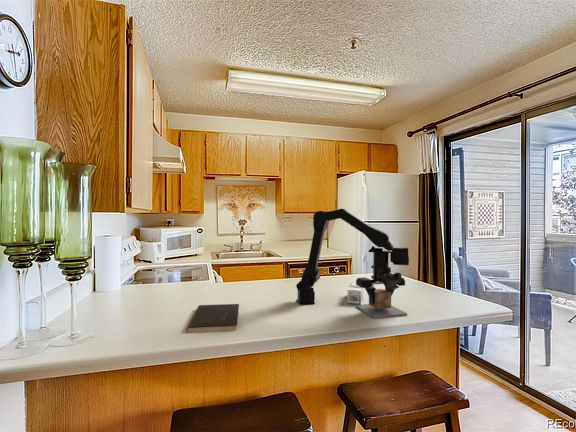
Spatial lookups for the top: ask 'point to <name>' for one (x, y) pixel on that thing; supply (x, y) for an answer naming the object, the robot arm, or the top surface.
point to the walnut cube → (381, 299)
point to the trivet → (381, 311)
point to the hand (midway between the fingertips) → (380, 303)
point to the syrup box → (355, 294)
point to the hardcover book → (214, 318)
